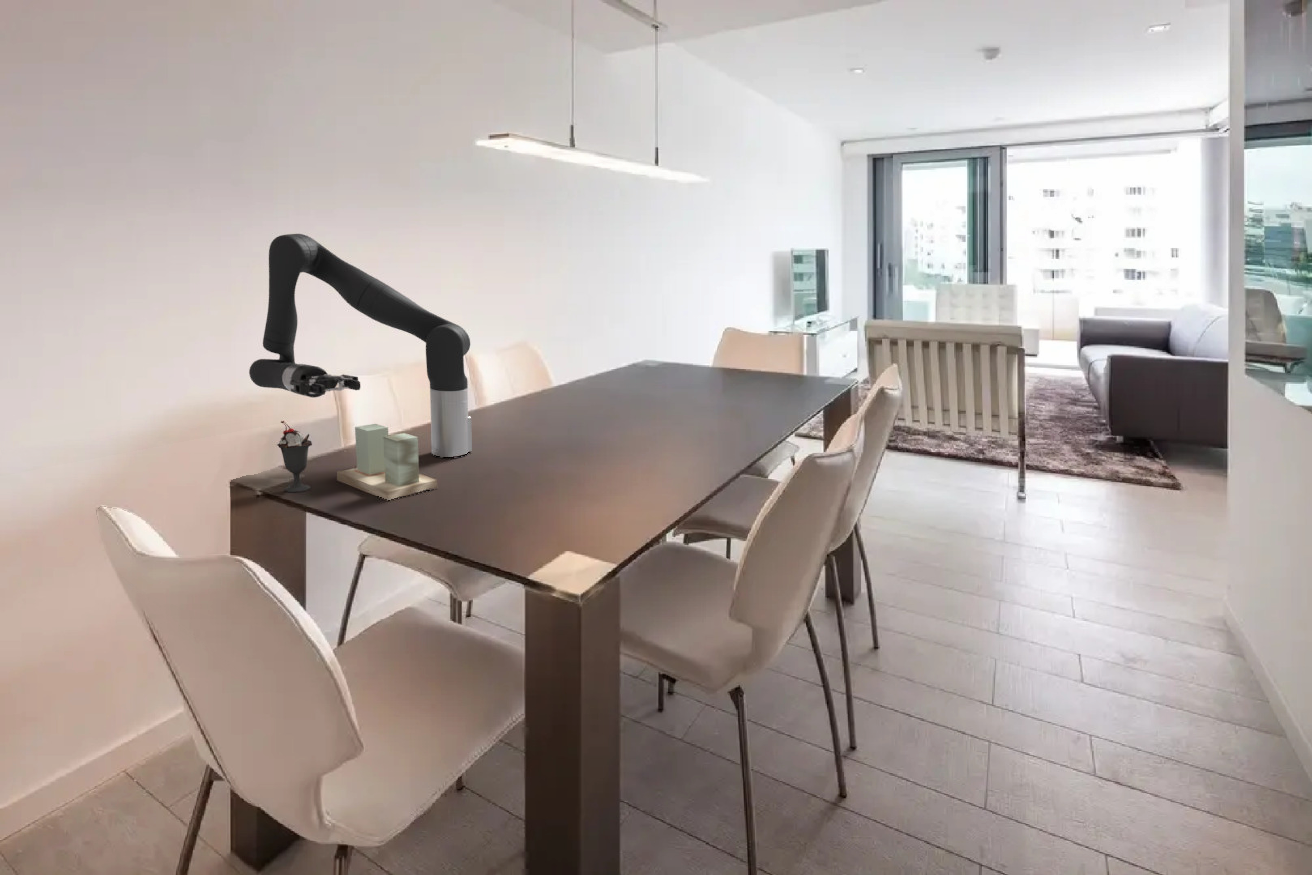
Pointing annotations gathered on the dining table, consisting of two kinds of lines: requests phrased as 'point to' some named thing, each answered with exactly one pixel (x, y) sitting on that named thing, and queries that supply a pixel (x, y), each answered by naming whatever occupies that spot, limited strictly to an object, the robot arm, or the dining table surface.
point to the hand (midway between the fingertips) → (341, 387)
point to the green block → (370, 448)
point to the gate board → (382, 485)
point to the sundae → (295, 456)
